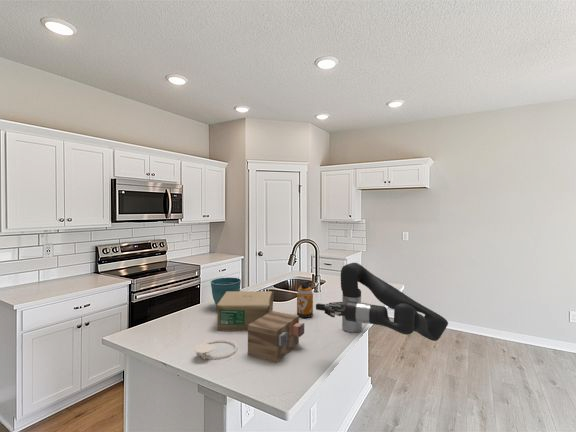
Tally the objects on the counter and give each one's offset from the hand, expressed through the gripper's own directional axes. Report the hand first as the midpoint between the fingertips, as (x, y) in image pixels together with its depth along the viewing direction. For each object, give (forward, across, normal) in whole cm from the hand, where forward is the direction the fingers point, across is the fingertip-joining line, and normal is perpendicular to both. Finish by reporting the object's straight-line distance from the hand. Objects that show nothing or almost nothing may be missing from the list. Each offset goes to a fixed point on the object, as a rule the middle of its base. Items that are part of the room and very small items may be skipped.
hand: (316, 306), depth 129 cm
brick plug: (+16, +5, -15) cm, 23 cm away
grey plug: (+19, -7, -15) cm, 25 cm away
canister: (+23, +44, -22) cm, 54 cm away
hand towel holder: (+41, -14, -21) cm, 48 cm away
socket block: (+18, 0, -21) cm, 28 cm away
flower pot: (+70, +34, -21) cm, 81 cm away
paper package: (+47, +21, -22) cm, 56 cm away
